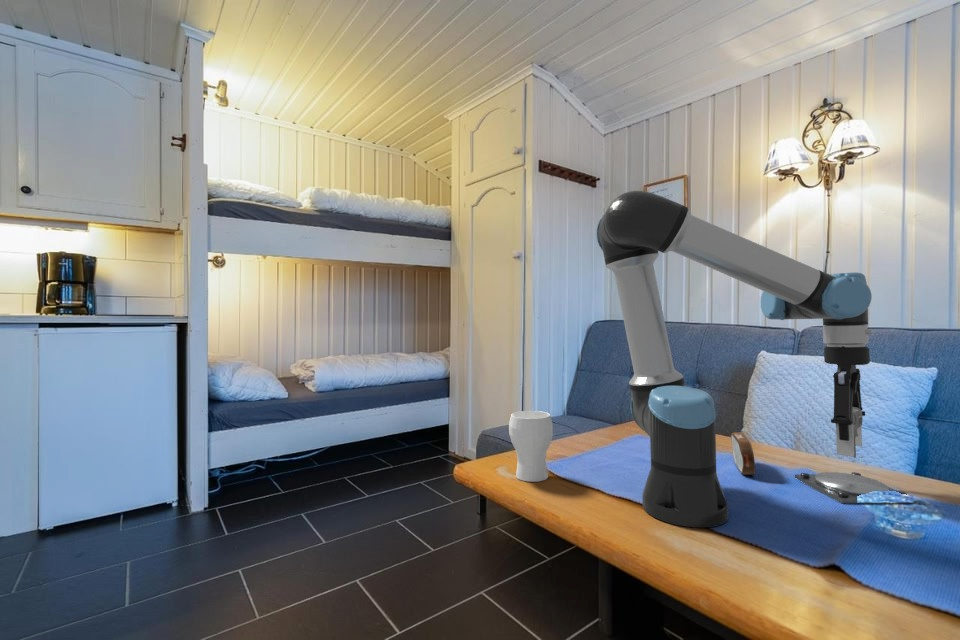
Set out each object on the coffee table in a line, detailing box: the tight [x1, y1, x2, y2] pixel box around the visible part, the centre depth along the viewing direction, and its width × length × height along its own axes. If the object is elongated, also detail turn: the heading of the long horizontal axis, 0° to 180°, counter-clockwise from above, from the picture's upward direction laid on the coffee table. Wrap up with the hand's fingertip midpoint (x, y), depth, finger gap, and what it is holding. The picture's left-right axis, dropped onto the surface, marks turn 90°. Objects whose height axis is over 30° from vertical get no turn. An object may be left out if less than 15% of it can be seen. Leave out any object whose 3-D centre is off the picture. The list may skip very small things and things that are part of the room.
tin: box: [730, 431, 756, 477], centre depth 109 cm, size 15×3×8 cm, turn 159°
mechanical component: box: [841, 407, 863, 459], centre depth 95 cm, size 3×10×10 cm, turn 129°
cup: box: [508, 410, 554, 483], centre depth 108 cm, size 11×11×15 cm
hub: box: [794, 471, 908, 504], centre depth 95 cm, size 14×14×2 cm
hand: (849, 450), depth 95 cm, fingers closed on mechanical component, 10 cm apart
